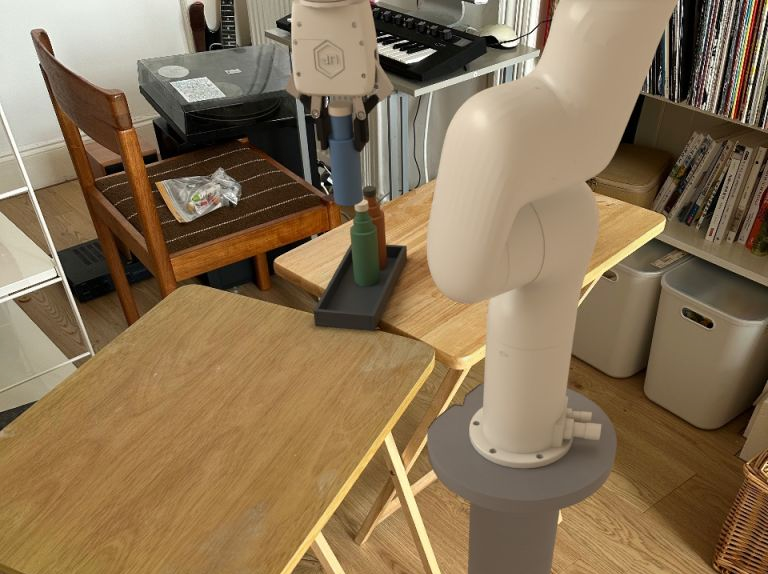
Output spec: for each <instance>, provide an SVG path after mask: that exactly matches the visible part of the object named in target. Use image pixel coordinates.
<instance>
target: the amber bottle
mask: <svg viewBox="0 0 768 574" xmlns="http://www.w3.org/2000/svg"><path fill="white" fill-rule="evenodd" d="M362 192H363V200H367V201H368V215H369V216H371V217H372V224H374V225H375V226H376V228H377V242H378V257H379V270H382V269H384V268H385V267H386V266H387V253H386V244H387V239H386V236H387V235H386V220H385V212H384V211H383V210H382V209H381V204H380V202H379V201H377V187H376V186H375V185H366V186H364V187H362Z"/></svg>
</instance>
